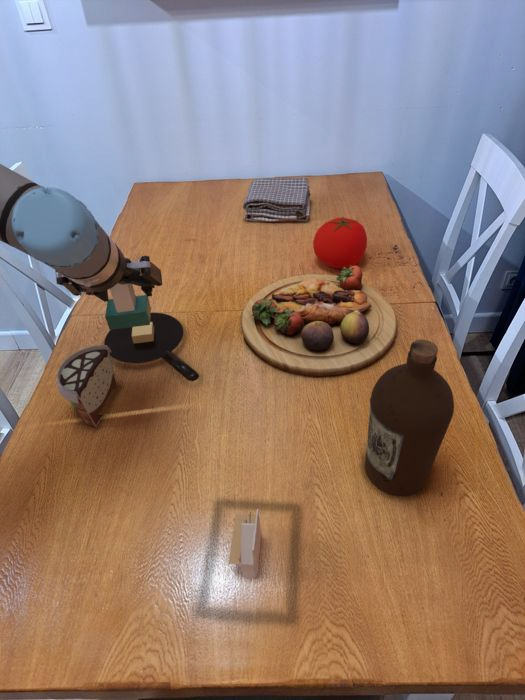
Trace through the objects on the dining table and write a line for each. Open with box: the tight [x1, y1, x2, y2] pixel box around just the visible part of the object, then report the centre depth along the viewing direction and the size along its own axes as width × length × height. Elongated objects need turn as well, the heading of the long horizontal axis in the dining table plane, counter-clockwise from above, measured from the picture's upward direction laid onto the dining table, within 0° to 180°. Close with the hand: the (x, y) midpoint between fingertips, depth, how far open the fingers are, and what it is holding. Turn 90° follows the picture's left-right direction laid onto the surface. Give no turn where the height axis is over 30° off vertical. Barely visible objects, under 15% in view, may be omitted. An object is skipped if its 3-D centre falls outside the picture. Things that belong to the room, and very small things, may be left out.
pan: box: [103, 312, 200, 382], centre depth 97 cm, size 26×16×2 cm, turn 43°
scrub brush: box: [104, 283, 152, 331], centre depth 83 cm, size 5×7×11 cm
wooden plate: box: [240, 265, 398, 377], centre depth 100 cm, size 32×32×8 cm
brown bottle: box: [364, 339, 455, 497], centre depth 67 cm, size 11×11×25 cm
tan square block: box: [132, 322, 154, 344], centre depth 99 cm, size 4×4×2 cm
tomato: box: [312, 216, 368, 270], centre depth 116 cm, size 12×13×11 cm
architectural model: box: [228, 508, 262, 579], centre depth 64 cm, size 3×7×7 cm, turn 175°
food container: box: [56, 344, 118, 429], centre depth 84 cm, size 12×6×10 cm, turn 168°
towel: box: [242, 177, 311, 223], centre depth 139 cm, size 15×18×8 cm
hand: (127, 291), depth 87 cm, fingers closed on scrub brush, 7 cm apart
